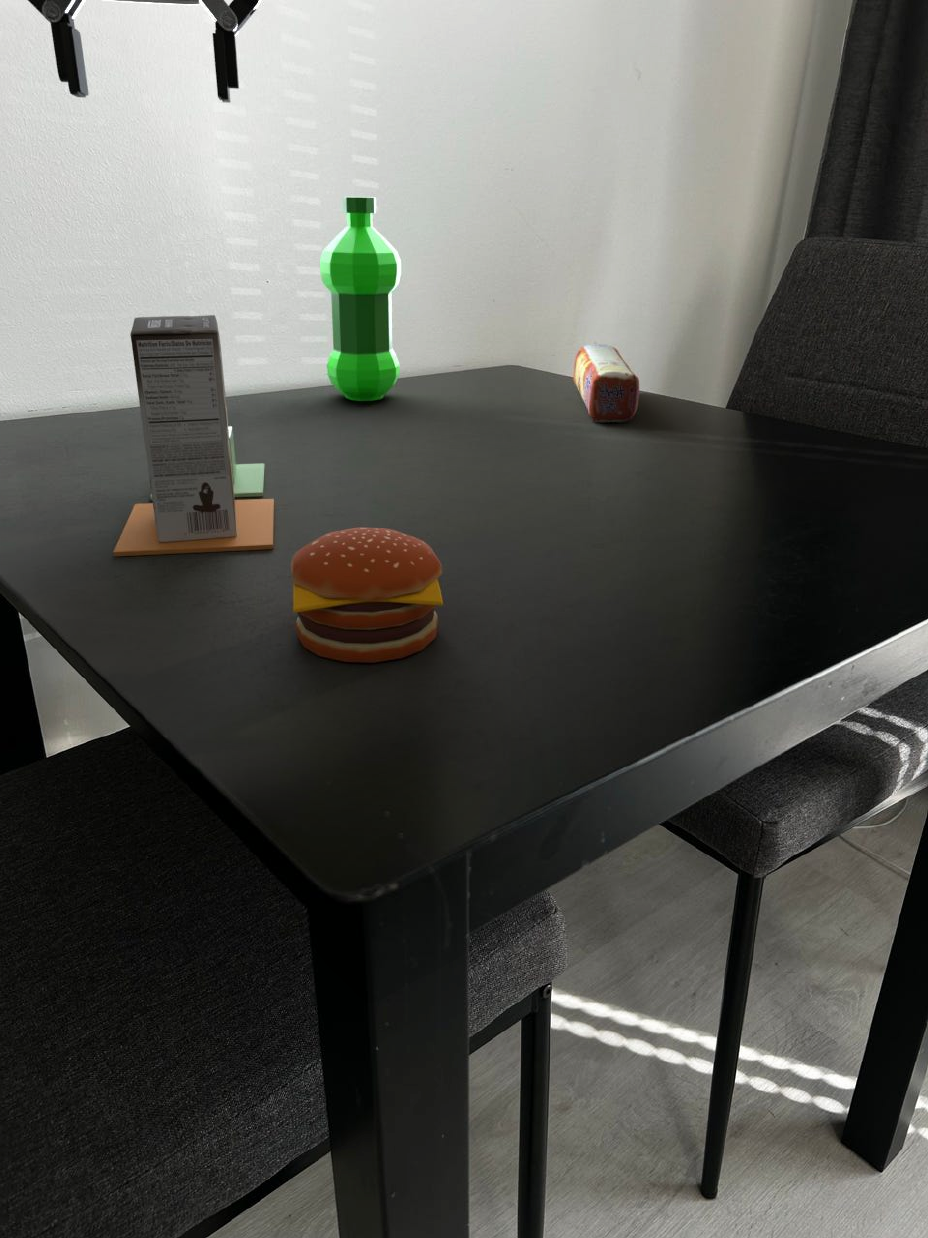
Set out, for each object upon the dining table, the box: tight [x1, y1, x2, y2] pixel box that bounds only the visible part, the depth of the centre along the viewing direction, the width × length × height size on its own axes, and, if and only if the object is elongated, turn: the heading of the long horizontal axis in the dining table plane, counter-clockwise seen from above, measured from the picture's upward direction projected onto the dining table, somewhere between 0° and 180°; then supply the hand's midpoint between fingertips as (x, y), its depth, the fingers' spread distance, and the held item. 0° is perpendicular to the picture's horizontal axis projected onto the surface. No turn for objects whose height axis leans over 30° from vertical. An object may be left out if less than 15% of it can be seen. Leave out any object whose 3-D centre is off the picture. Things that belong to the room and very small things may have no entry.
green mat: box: [149, 463, 265, 502], centre depth 88 cm, size 10×10×1 cm
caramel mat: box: [112, 498, 275, 557], centre depth 76 cm, size 12×12×1 cm
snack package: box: [572, 343, 640, 424], centre depth 121 cm, size 21×7×7 cm, turn 178°
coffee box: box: [129, 314, 237, 543], centre depth 73 cm, size 9×6×16 cm
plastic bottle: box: [319, 196, 402, 402], centre depth 120 cm, size 10×10×25 cm
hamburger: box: [290, 526, 444, 664], centre depth 57 cm, size 9×10×7 cm
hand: (152, 97), depth 63 cm, fingers open, 9 cm apart
